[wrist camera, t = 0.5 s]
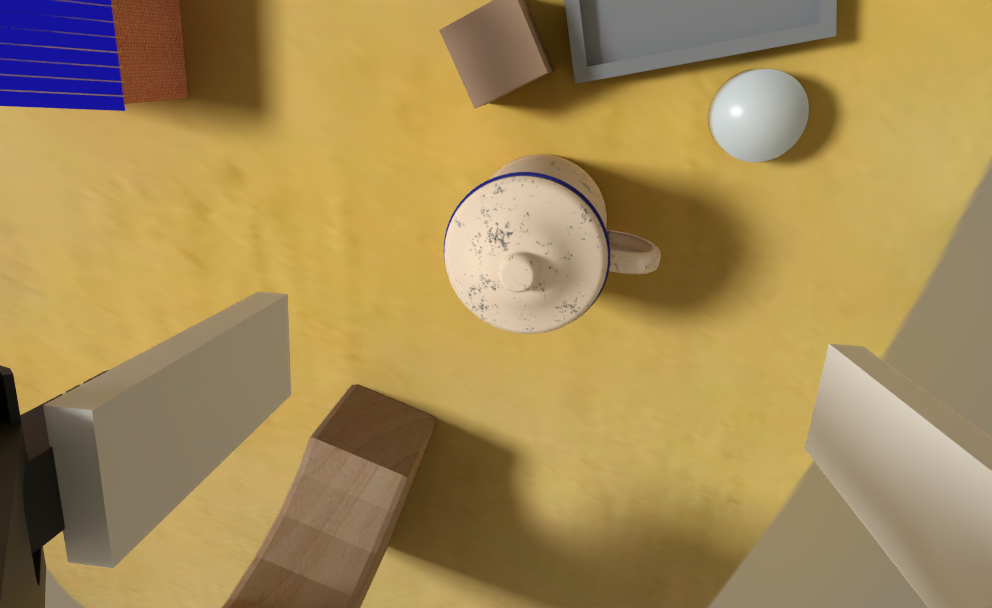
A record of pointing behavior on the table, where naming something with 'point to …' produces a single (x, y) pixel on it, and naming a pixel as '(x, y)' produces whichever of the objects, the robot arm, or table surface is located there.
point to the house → (90, 53)
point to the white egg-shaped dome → (758, 114)
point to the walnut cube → (496, 50)
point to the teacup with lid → (537, 246)
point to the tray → (685, 31)
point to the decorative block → (339, 507)
